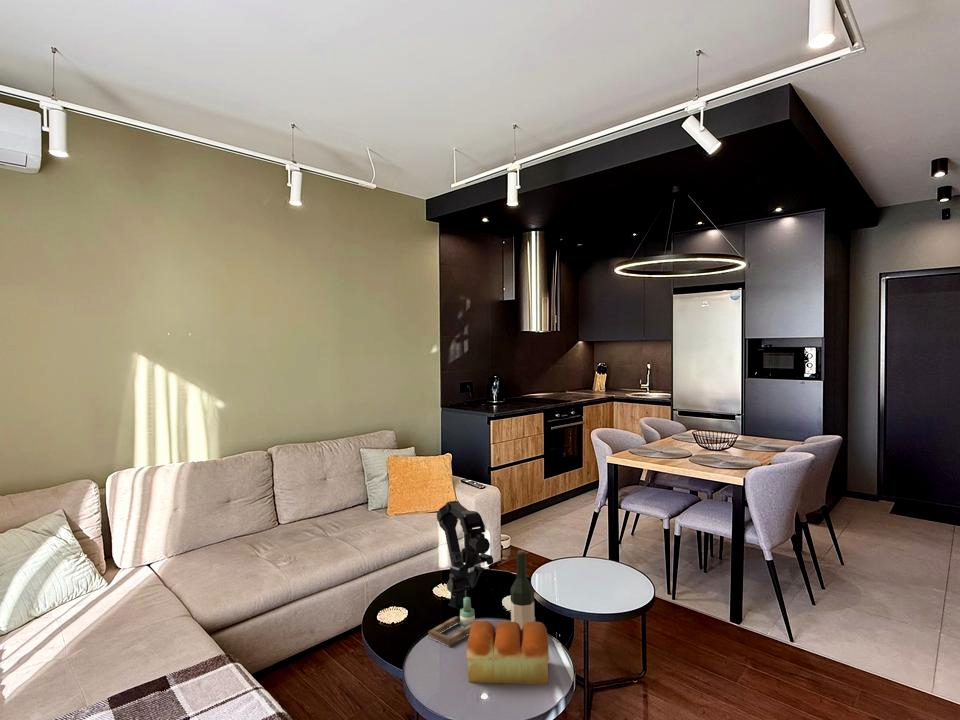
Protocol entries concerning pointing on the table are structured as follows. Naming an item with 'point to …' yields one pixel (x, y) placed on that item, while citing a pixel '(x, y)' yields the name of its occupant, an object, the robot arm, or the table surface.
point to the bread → (508, 653)
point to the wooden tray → (453, 638)
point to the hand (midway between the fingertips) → (472, 587)
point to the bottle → (467, 613)
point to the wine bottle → (522, 594)
